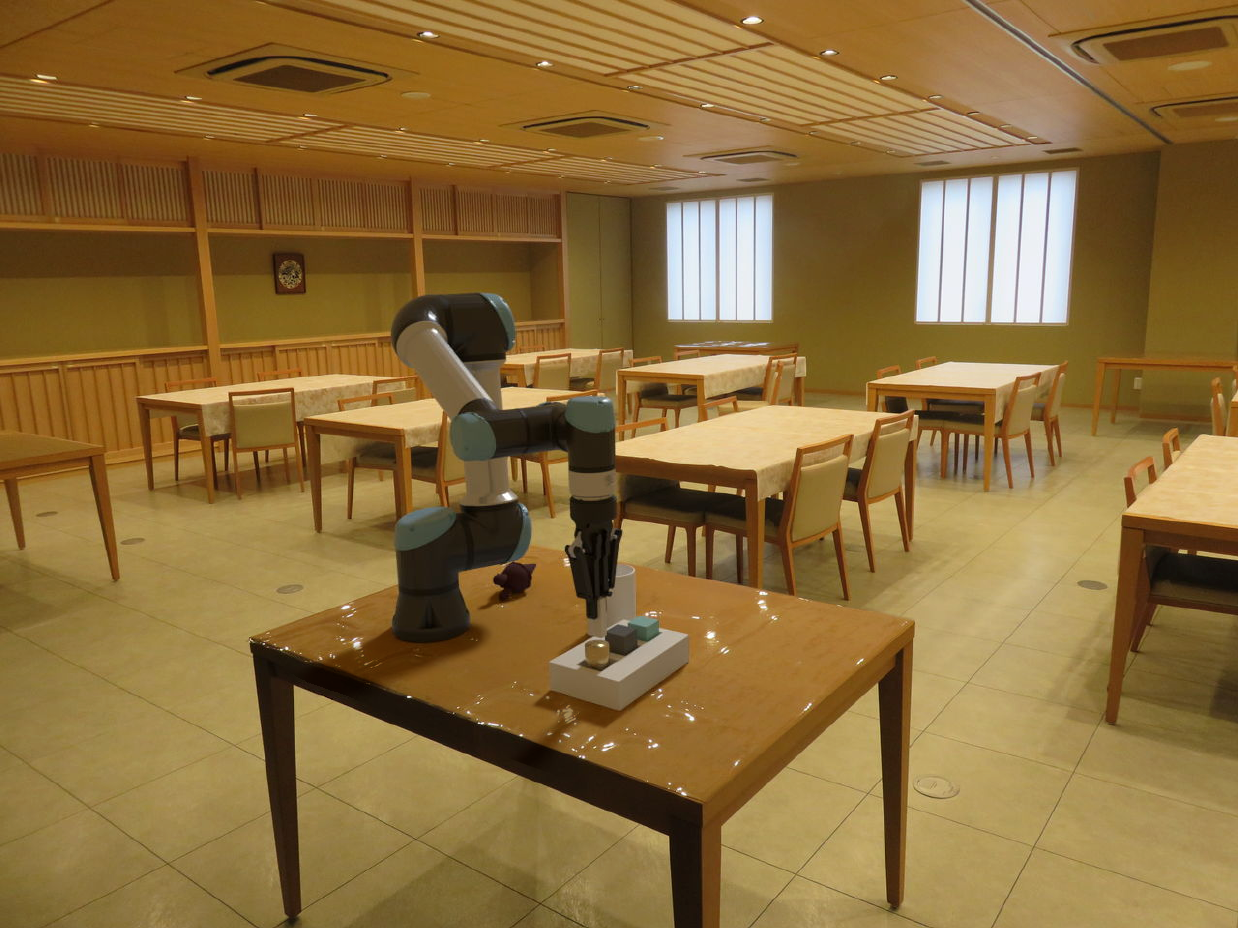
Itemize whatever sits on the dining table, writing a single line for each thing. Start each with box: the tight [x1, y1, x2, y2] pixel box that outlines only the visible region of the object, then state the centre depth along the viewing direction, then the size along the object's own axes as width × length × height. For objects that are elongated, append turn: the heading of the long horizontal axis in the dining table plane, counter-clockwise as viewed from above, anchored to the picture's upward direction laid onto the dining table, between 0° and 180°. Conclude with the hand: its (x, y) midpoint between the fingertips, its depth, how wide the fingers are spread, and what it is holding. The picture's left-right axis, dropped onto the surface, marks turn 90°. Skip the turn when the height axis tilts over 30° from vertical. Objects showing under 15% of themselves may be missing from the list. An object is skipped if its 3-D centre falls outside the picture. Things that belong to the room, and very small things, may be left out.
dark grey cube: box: [605, 624, 638, 656], centre depth 154 cm, size 4×4×4 cm
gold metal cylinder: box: [585, 640, 610, 671], centre depth 149 cm, size 4×4×4 cm
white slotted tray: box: [548, 619, 690, 712], centre depth 155 cm, size 14×22×5 cm, turn 146°
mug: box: [606, 563, 637, 628], centre depth 174 cm, size 12×8×12 cm
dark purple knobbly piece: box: [492, 561, 537, 602], centre depth 197 cm, size 7×7×15 cm
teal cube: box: [628, 615, 660, 642], centre depth 160 cm, size 4×4×4 cm
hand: (597, 634), depth 148 cm, fingers closed
